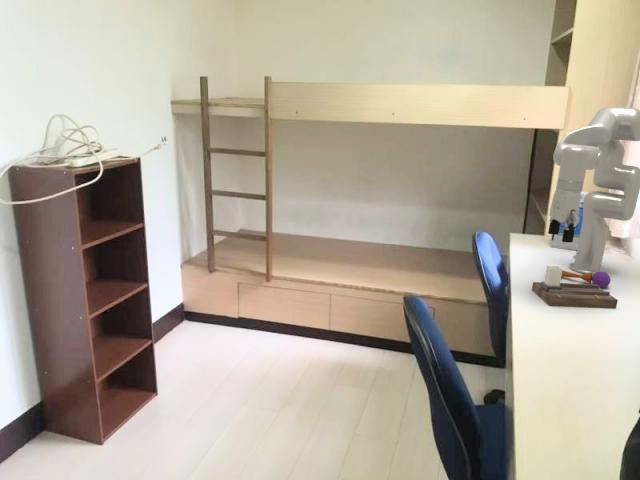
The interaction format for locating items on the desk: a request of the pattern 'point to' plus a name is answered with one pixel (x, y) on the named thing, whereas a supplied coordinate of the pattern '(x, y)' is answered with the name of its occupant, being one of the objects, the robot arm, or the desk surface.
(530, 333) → the desk surface
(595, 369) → the desk surface
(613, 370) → the desk surface
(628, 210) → the robot arm
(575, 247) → the string lights box
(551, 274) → the fader tab
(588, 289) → the brown slider board
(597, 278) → the kendama
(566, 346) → the desk surface
